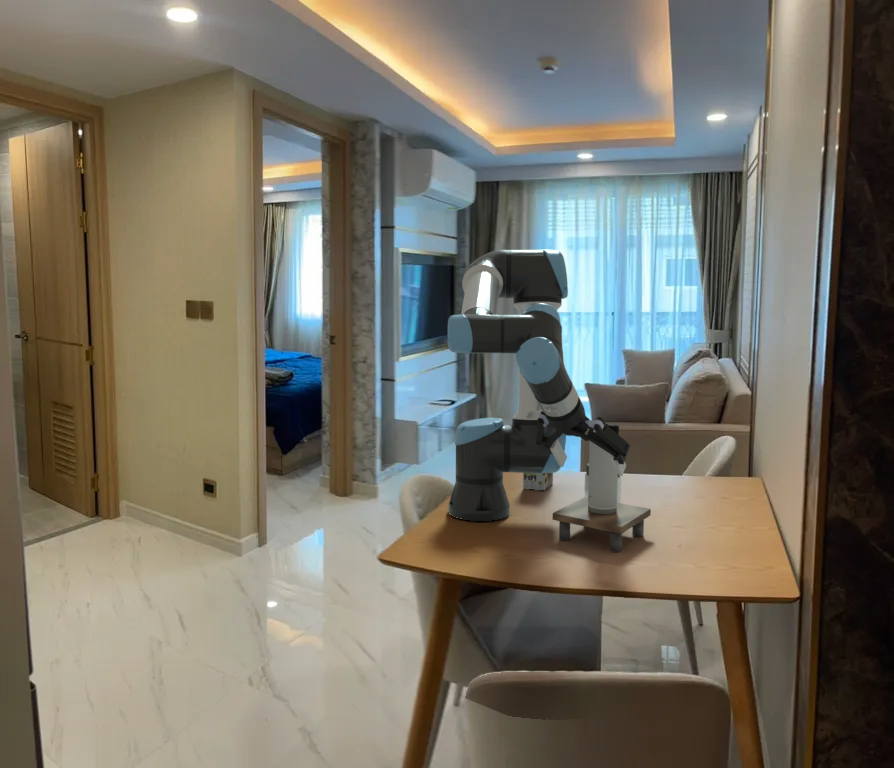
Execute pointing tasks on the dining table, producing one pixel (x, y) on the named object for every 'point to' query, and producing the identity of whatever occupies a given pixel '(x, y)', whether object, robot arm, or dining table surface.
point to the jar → (588, 484)
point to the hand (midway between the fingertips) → (592, 466)
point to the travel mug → (602, 480)
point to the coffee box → (537, 480)
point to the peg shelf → (602, 521)
